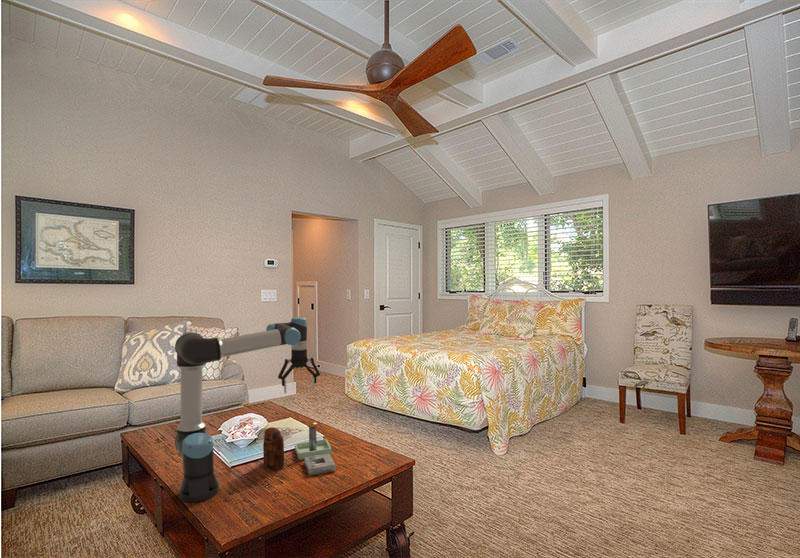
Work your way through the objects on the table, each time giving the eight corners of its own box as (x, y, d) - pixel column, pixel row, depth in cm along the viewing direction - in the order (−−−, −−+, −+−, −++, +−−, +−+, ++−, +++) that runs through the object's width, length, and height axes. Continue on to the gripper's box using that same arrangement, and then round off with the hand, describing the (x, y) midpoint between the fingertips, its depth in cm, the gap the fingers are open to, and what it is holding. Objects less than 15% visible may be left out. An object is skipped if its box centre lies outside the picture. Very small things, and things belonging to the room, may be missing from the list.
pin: (308, 453, 229) (308, 425, 228) (306, 449, 234) (306, 421, 233) (319, 452, 231) (318, 424, 230) (317, 447, 236) (316, 420, 235)
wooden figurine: (258, 466, 218) (257, 428, 216) (267, 460, 224) (266, 424, 222) (278, 471, 213) (277, 433, 211) (287, 465, 219) (286, 428, 217)
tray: (298, 459, 224) (298, 453, 224) (294, 449, 235) (294, 443, 235) (331, 454, 230) (331, 448, 230) (326, 444, 241) (326, 438, 241)
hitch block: (308, 475, 209) (308, 468, 209) (304, 463, 220) (304, 457, 220) (335, 470, 213) (335, 464, 213) (329, 459, 225) (329, 453, 224)
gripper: (273, 351, 223) (273, 395, 224) (325, 348, 231) (325, 390, 233) (272, 348, 230) (272, 391, 231) (323, 345, 238) (323, 386, 240)
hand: (299, 391), depth 232 cm, fingers open, 13 cm apart
